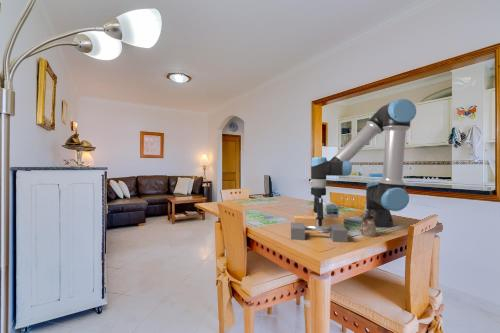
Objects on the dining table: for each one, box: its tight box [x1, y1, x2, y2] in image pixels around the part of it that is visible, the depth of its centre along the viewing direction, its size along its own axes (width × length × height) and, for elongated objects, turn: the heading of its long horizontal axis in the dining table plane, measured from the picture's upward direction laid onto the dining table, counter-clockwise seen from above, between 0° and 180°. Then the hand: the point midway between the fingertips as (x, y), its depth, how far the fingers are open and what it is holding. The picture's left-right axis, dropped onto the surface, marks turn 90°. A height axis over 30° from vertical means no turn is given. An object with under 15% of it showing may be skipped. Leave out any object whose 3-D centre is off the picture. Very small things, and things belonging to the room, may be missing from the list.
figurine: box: [358, 208, 377, 238], centre depth 114 cm, size 7×7×12 cm
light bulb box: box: [323, 201, 340, 217], centre depth 136 cm, size 11×7×11 cm, turn 179°
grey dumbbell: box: [290, 222, 349, 243], centre depth 110 cm, size 24×10×5 cm, turn 81°
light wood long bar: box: [293, 215, 345, 227], centre depth 123 cm, size 24×5×6 cm, turn 82°
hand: (317, 228), depth 123 cm, fingers open, 13 cm apart
